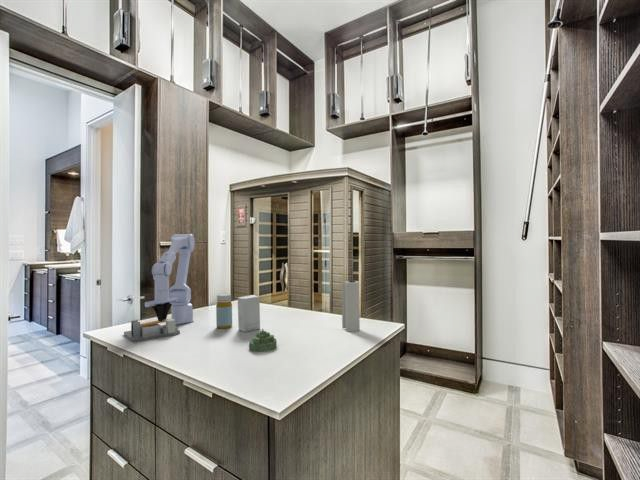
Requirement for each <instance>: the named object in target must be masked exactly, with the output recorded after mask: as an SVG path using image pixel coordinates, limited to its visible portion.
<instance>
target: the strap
mask: <svg viewBox="0 0 640 480" xmlns="http://www.w3.org/2000/svg"><path fill="white" fill-rule="evenodd" d="M162 323H165V322H164V320H162V321H161V322H160V321H158V320H154V321H147V322H143V323H142V322H140V326H146V325H152V324H162Z"/></svg>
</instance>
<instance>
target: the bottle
mask: <svg viewBox="0 0 640 480" xmlns="http://www.w3.org/2000/svg"><path fill="white" fill-rule="evenodd" d="M216 297H217V298H216V306H215V310H216V318H215V319H216V328H217V329H222V330H223V329H230V328H232V326H233V303H232V294H231V293H220V294H217V296H216Z"/></svg>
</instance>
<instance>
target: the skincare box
mask: <svg viewBox="0 0 640 480" xmlns="http://www.w3.org/2000/svg"><path fill="white" fill-rule="evenodd" d="M260 308H261V307H260V296H259V295H255V294H250V295H245V296H239V297H237V315H238V316H237V317H238V318H237V319H238V320H237V321H238V330H239V331H241V332H243V333H246V332H251V331H255V330H259V329H261V317H260V316H261V314H260V311H261V309H260Z"/></svg>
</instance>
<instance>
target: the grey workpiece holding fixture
mask: <svg viewBox="0 0 640 480" xmlns="http://www.w3.org/2000/svg"><path fill="white" fill-rule="evenodd" d="M140 324H141V321H139V320H138V319H134V320H131V321H130V330H126V331H123V335H124V336H125V338H127V339H128V340H129V341H130V342H131V343H138V342H144V341H148V340H154V339H159V338H160V339H161V338H165V337H171V336H174V335H176V336H177V335H180V334H181V330H179V327H178V326H176V332H172V333H167V329H166V324H162V325H161V324H160V323H157V324H152V325H146V326H140Z"/></svg>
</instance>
